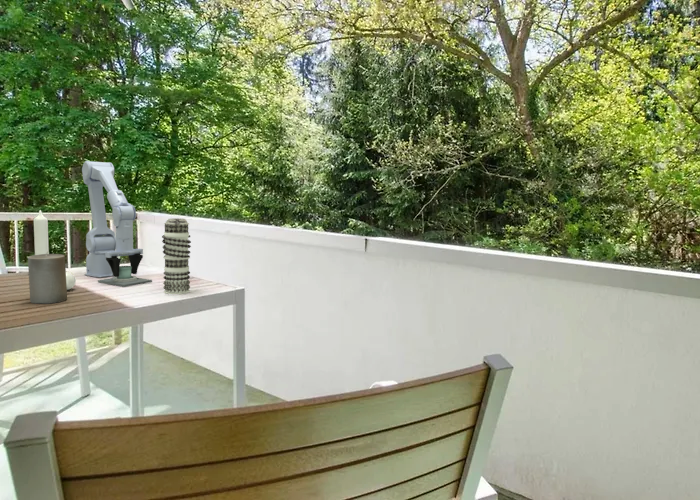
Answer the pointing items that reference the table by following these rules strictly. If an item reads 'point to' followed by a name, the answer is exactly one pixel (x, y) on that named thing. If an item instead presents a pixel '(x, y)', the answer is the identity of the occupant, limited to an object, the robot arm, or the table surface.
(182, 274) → the decorative candle
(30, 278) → the pillar candle
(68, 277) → the lightbulb
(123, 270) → the cup
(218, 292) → the table surface
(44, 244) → the candle
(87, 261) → the robot arm
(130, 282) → the socket board
